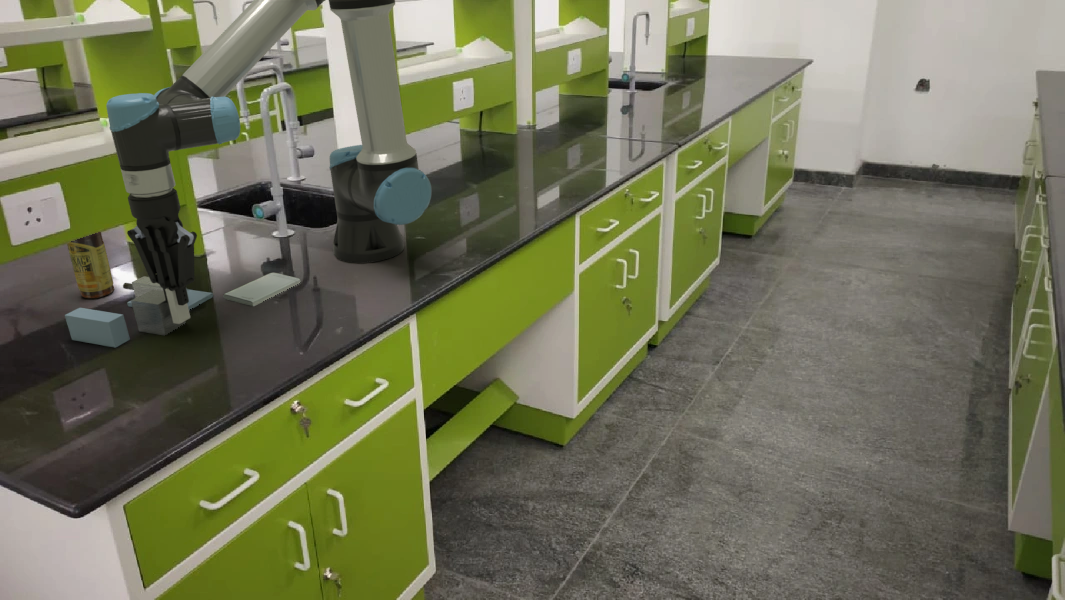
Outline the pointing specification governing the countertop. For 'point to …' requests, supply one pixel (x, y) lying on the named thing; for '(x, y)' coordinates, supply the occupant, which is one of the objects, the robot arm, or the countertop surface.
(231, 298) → the hard drive
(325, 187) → the countertop surface
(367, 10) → the robot arm
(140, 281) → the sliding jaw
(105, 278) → the sauce bottle
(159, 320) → the steel block
